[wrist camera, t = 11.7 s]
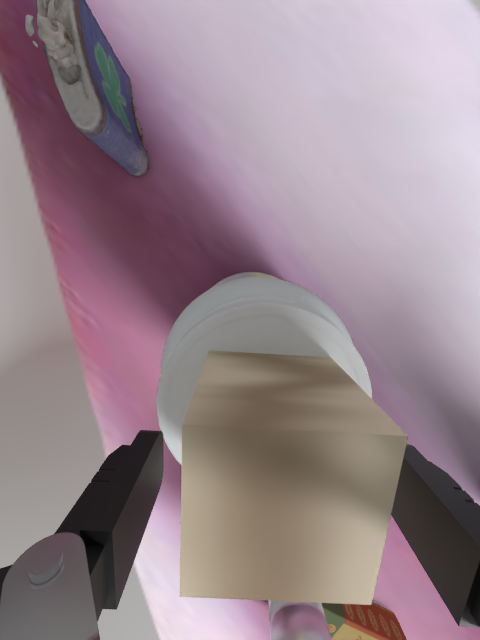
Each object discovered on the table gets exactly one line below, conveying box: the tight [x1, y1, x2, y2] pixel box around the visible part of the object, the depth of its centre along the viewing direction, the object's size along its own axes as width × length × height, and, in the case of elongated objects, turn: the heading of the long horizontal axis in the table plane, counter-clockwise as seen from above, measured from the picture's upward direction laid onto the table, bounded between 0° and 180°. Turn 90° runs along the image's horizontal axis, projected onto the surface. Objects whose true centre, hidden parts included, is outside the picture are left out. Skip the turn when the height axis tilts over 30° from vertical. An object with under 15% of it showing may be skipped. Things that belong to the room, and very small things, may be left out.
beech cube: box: [180, 351, 408, 605], centre depth 10 cm, size 6×6×6 cm
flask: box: [25, 0, 148, 176], centre depth 19 cm, size 9×3×11 cm, turn 10°
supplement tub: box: [156, 272, 372, 466], centre depth 21 cm, size 12×12×17 cm
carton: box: [322, 602, 406, 640], centre depth 36 cm, size 8×16×4 cm, turn 59°
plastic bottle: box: [268, 600, 332, 640], centre depth 25 cm, size 6×7×20 cm
